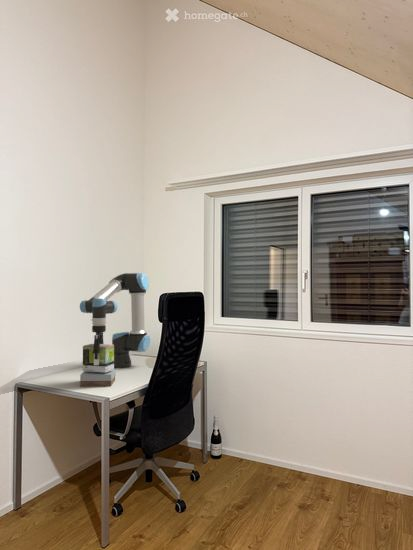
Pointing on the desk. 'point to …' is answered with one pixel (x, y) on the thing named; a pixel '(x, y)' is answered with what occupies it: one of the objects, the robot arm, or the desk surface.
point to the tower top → (97, 376)
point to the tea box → (104, 358)
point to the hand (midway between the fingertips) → (98, 362)
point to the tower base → (96, 383)
